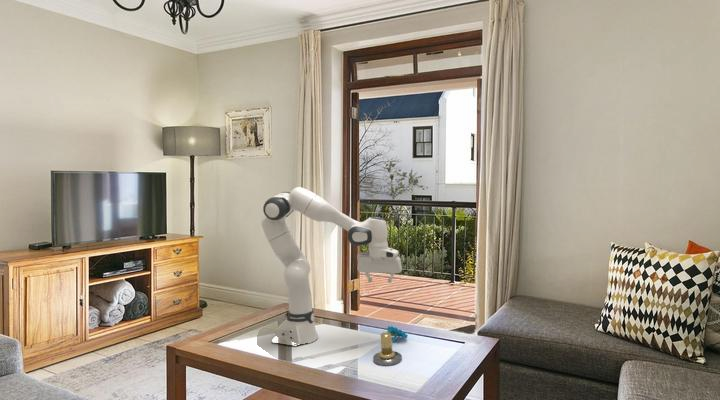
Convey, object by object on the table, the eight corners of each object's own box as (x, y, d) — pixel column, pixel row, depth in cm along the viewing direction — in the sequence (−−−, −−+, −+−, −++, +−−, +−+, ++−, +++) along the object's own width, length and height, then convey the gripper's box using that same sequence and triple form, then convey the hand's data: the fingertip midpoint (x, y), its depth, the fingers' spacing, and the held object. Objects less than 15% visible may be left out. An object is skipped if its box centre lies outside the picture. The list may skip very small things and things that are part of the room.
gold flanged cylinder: (377, 359, 186) (376, 337, 185) (381, 352, 192) (380, 331, 191) (392, 360, 184) (391, 337, 183) (396, 353, 190) (394, 331, 189)
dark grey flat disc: (369, 364, 184) (369, 361, 184) (377, 352, 196) (377, 349, 196) (398, 366, 181) (398, 363, 180) (404, 354, 192) (404, 351, 192)
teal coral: (412, 336, 206) (399, 325, 202) (407, 348, 204) (393, 337, 199) (395, 334, 215) (382, 323, 211) (391, 345, 212) (377, 335, 208)
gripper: (354, 253, 204) (356, 283, 205) (398, 253, 197) (400, 284, 198) (359, 250, 210) (360, 279, 211) (401, 251, 203) (403, 281, 204)
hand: (380, 282), depth 204 cm, fingers open, 8 cm apart
